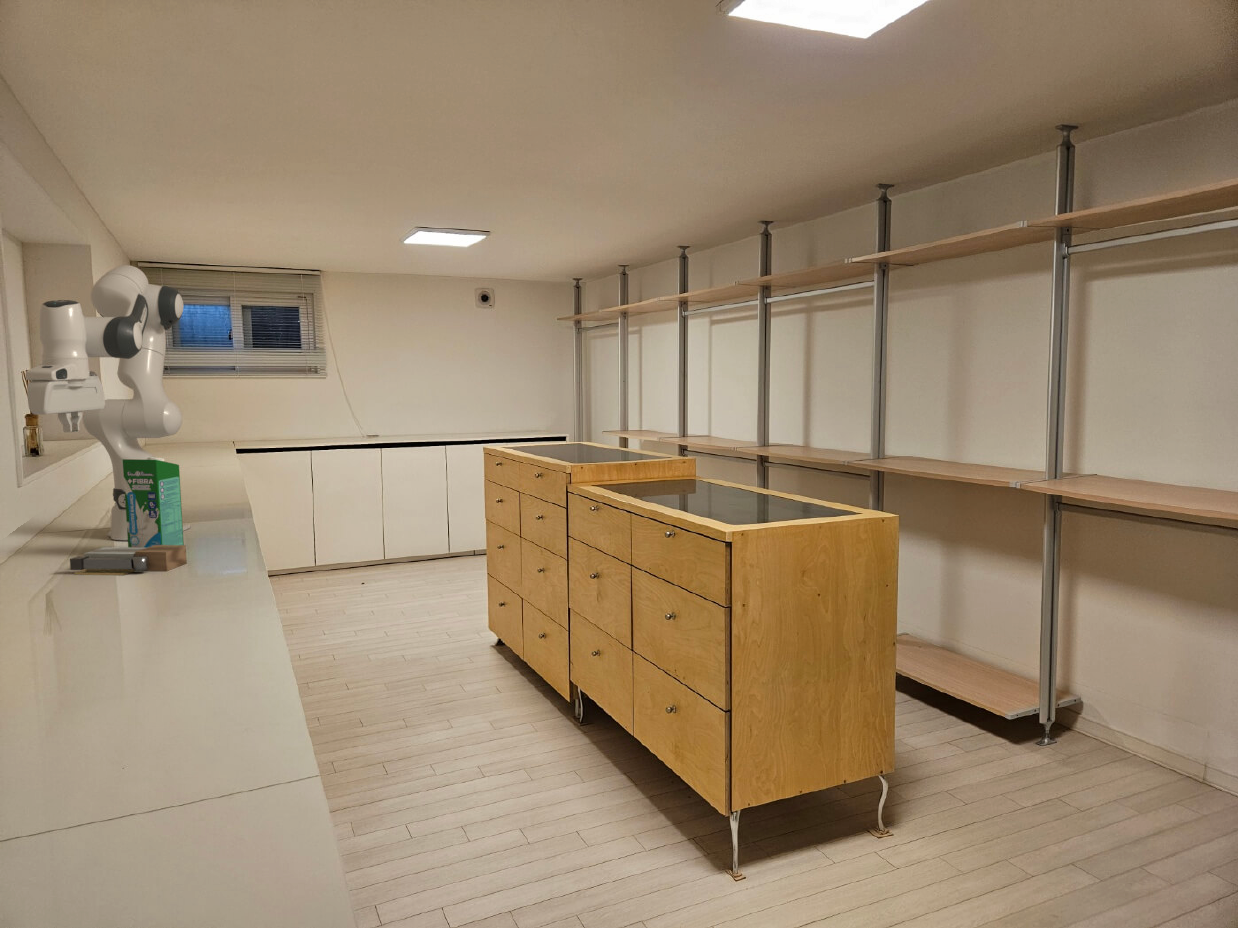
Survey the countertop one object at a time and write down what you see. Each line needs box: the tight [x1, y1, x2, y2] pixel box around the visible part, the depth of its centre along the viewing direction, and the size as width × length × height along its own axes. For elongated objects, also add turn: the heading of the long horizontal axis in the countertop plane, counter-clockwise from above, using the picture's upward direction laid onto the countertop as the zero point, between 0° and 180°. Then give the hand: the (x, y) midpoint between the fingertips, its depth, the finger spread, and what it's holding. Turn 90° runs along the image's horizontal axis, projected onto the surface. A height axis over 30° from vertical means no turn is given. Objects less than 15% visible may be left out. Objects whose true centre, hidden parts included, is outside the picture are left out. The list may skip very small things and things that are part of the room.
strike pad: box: [73, 569, 135, 576], centre depth 192 cm, size 4×12×1 cm, turn 86°
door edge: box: [83, 544, 188, 572], centre depth 198 cm, size 8×20×4 cm, turn 86°
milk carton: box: [123, 457, 185, 548], centre depth 211 cm, size 9×9×25 cm
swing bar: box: [69, 555, 148, 572], centre depth 192 cm, size 17×3×3 cm, turn 89°
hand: (71, 431), depth 191 cm, fingers closed
